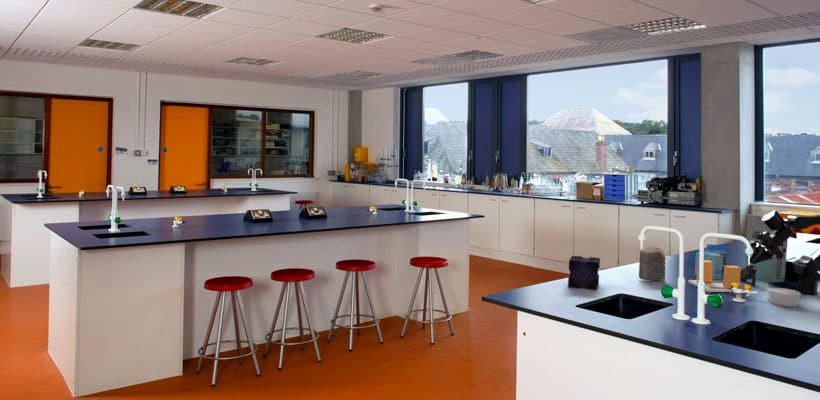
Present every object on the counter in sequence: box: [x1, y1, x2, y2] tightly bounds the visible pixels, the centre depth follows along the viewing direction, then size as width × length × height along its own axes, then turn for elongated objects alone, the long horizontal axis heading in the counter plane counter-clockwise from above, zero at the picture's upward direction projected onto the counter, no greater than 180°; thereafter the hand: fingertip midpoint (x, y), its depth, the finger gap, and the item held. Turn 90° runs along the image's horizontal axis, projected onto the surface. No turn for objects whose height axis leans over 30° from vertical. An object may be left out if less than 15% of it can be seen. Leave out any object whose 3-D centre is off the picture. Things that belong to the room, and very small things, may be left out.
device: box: [743, 213, 789, 283], centre depth 294 cm, size 16×8×30 cm, turn 16°
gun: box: [740, 265, 756, 287], centre depth 285 cm, size 3×16×10 cm, turn 175°
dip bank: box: [687, 279, 732, 293], centre depth 273 cm, size 17×19×1 cm
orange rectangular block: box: [722, 265, 742, 288], centre depth 266 cm, size 5×4×9 cm
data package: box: [694, 251, 723, 281], centre depth 293 cm, size 12×4×12 cm, turn 20°
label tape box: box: [705, 244, 727, 270], centre depth 318 cm, size 9×4×12 cm, turn 81°
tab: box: [695, 260, 713, 282], centre depth 278 cm, size 5×4×9 cm
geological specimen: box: [638, 246, 667, 282], centre depth 285 cm, size 11×6×15 cm, turn 109°
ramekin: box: [767, 287, 802, 307], centre depth 246 cm, size 11×11×5 cm
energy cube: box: [567, 255, 601, 291], centre depth 270 cm, size 12×12×12 cm
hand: (750, 262), depth 266 cm, fingers open, 2 cm apart
